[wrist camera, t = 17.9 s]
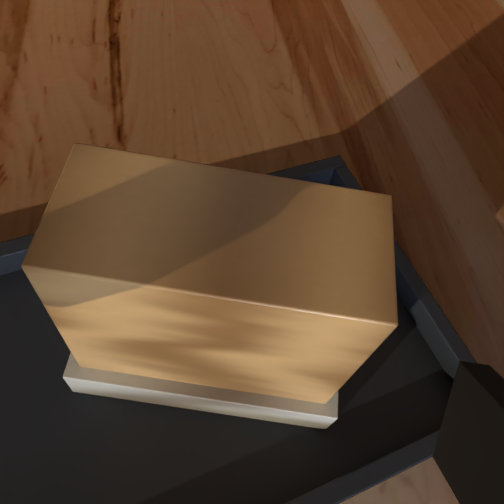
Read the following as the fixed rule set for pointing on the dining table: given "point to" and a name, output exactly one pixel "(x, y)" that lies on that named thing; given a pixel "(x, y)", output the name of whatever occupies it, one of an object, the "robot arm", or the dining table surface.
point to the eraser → (213, 284)
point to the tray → (214, 424)
